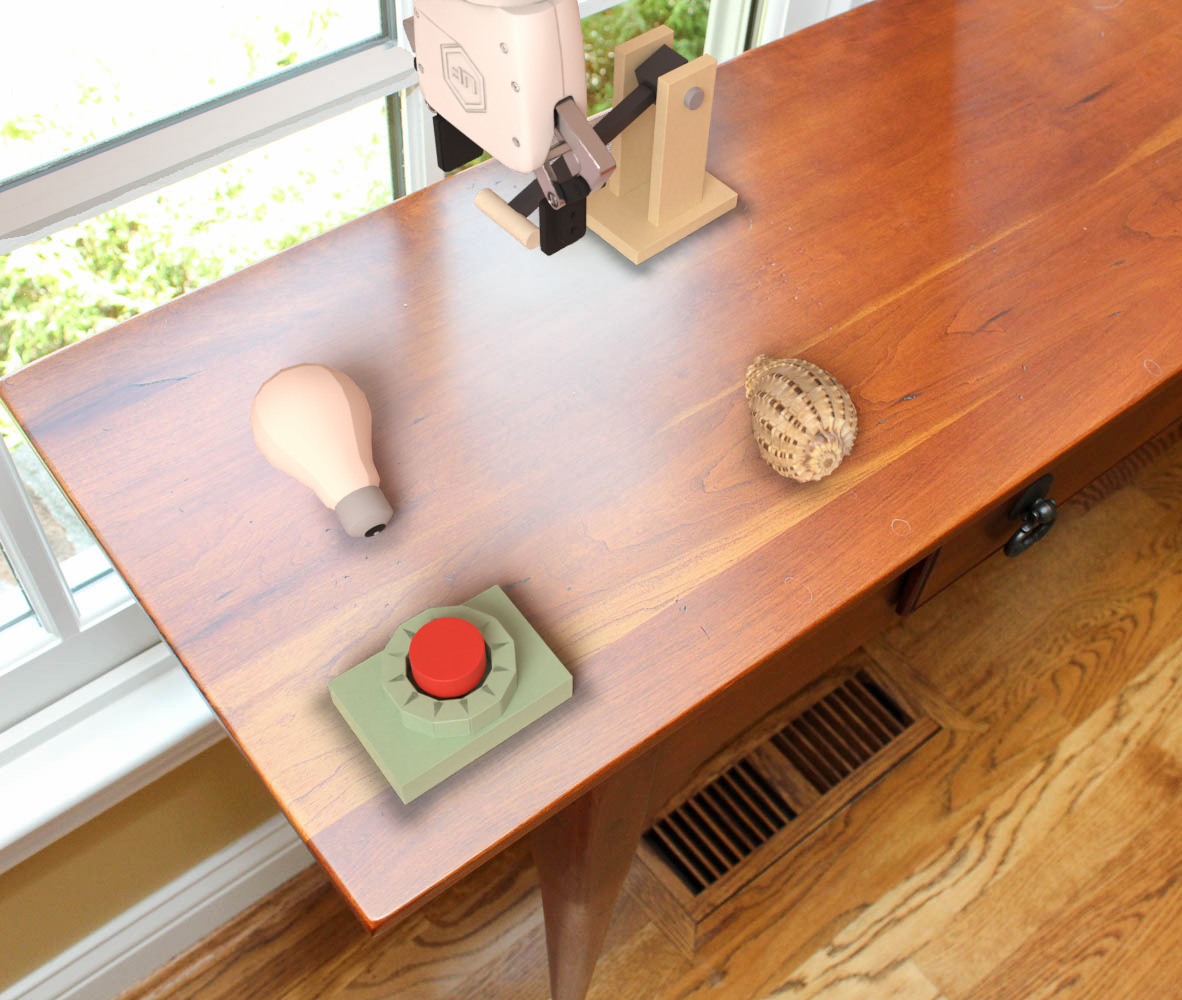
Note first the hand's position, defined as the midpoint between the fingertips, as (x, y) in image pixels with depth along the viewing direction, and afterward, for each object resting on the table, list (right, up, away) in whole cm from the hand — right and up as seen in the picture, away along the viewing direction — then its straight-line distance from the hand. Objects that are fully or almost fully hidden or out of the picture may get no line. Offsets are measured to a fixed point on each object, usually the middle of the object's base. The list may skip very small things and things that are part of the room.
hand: (511, 202), depth 76 cm
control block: (-1, -29, -12) cm, 32 cm away
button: (0, -27, -15) cm, 31 cm away
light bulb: (-9, -18, -5) cm, 20 cm away
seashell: (+17, -14, +2) cm, 23 cm away
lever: (+5, +4, +3) cm, 7 cm away
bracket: (+8, +2, +12) cm, 15 cm away
